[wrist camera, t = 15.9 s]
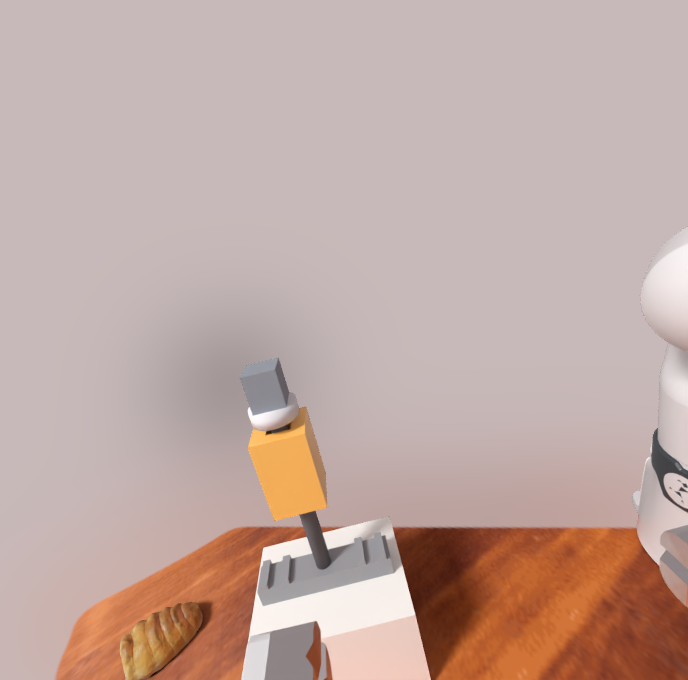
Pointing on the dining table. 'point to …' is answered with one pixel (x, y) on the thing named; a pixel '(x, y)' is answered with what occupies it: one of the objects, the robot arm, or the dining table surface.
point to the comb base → (346, 602)
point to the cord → (279, 430)
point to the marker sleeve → (290, 468)
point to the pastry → (158, 639)
